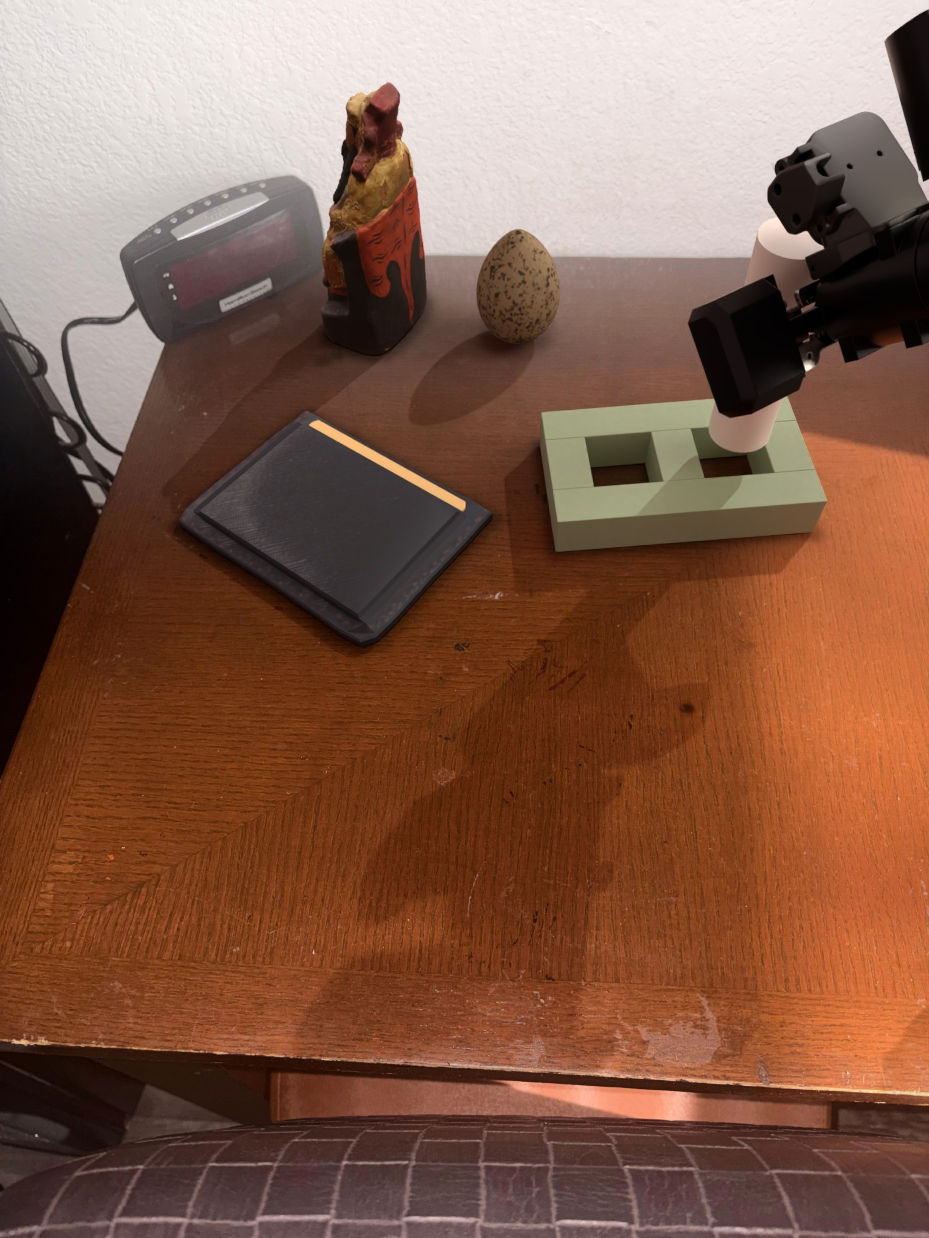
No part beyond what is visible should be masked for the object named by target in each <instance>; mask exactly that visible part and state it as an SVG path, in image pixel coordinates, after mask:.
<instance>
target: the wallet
mask: <svg viewBox="0 0 929 1238" xmlns="http://www.w3.org/2000/svg"><path fill="white" fill-rule="evenodd" d="M492 519H494V513H493V511H491V510H489V509H488V508H485V507H484V506H483V505H481V504H479V503H477V502H476V501H475V500H473V499H471V498H469V497H467V496H465V495H463V494H461V493H459V492H457V491H456V490H453V489H451V488H449V487H447V486H445V485H443V484H442V483H439V482H438V481H436V480H434V479H432V478H431V477H429V476H427V475H425V474H423V473H422V472H421V471H418V470H416V469H414V468H413V467H411V466H409V465H407V464H405V463H404V462H402V461H399V460H398V459H396V458H395V457H392V456H391V455H389V454H387V453H385V452H384V451H382V450H380V449H378V448H376V447H374V446H372V445H371V444H368V443H367V442H365V441H364V440H362V439H359V438H358V437H356V436H354V435H352V434H351V433H348V432H347V431H345V430H344V429H342V428H340V427H338V426H337V425H334V424H333V423H331V422H329V421H327V420H325V419H324V418H321V417H320V416H318V415H316V414H314V413H313V412H311V411H309V410H307V409H305V410H303V411H302V412H301V413H300V414H299V415H297V417H295V418H294V419H293V420H292V421H290V422H289V423H288V424H286V425H285V426H283V427H282V428H280V429H279V430H278V431H277V432H276V433H274V434H273V435H272V436H271V437H269V438H268V439H267V440H266V441H265V442H263V443H261V445H260V446H258V447H257V448H256V449H255V450H254V451H252V452H251V453H250V454H249V455H247V456H246V457H245V458H243V460H242V461H240V462H239V463H238V464H236V465H235V466H234V467H233V468H232V469H230V471H228V472H226V474H224V475H223V476H222V477H221V478H220V479H218V481H216V482H215V483H213V484H212V485H211V486H210V487H208V488H207V489H206V490H205V491H204V492H202V493H201V494H200V495H199V496H198V497H197V498H196V499H194V500H193V501H192V502H191V503H190V504H189V505H188V506H186V508H184V509H183V511H182V513H181V515H180V516H179V519H178V521H177V522H178V524H179V525H180V527H181V528H182V529H183V530H185V531H187V532H188V533H190V535H192V536H193V537H195V538H196V539H198V540H199V541H200V542H202V543H203V544H205V545H207V546H208V547H210V548H211V549H212V550H214V551H216V552H217V553H218V554H221V556H223V557H225V558H226V559H228V560H230V561H231V562H233V563H234V564H236V565H237V566H239V568H242V569H243V570H245V571H247V572H248V573H250V574H251V575H253V576H254V577H256V578H257V579H259V580H260V581H262V582H263V583H265V584H267V585H268V586H269V587H271V588H272V589H274V590H275V591H277V592H278V593H280V594H281V595H283V596H284V597H285V598H287V599H288V600H290V602H293V603H294V604H295V605H297V606H298V607H300V608H301V609H303V610H304V611H305V612H307V613H308V614H310V615H311V616H313V617H314V618H315V619H317V620H318V621H320V622H321V623H323V624H324V625H325V626H327V627H328V628H329V629H331V630H332V631H334V632H335V633H336V634H338V635H339V636H340V637H342V638H344V639H346V640H348V641H350V642H351V643H353V644H356V645H357V646H359V647H361V648H362V647H366V646H368V645H371V644H374V643H377V642H379V641H380V640H381V639H382V638H383V637H384V636H385V635H386V634H388V632H389V631H390V630H391V629H392V628H393V627H394V626H395V625H396V624H397V623H398V622H399V621H400V620H401V618H403V616H404V615H405V614H406V613H407V612H408V611H409V610H410V608H411V607H412V606H414V604H415V603H416V602H417V601H418V600H419V598H421V596H422V595H423V594H424V593H425V592H426V591H427V590H428V588H430V586H431V585H432V584H433V583H434V582H435V581H436V580H437V579H438V578H439V576H440V575H441V574H442V573H443V572H444V571H446V569H448V567H449V566H450V565H451V564H452V563H453V562H454V561H455V560H456V558H458V557H459V556H460V554H462V552H463V551H464V550H465V549H466V548H467V547H468V546H469V545H470V544H471V543H472V541H473V540H474V539H475V538H476V537H477V536H478V534H479V533H480V532H482V530H484V528H485V527H486V526H487V525H488V524H489V523H490V522H491V520H492Z"/></svg>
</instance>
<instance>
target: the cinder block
mask: <svg viewBox="0 0 929 1238" xmlns="http://www.w3.org/2000/svg"><path fill="white" fill-rule="evenodd" d="M714 403H715V400H714V398H705V399H693V400H680V401H679V400H678V401H667V402H655V403H642V404H640V403H639V404H630V405H629V404H628V405H616V406H602V407H592V408H591V407H590V408H579V409H578V408H577V409H565V410H564V409H563V410H553V411H542V412H541V413H540V424H539V425H540V427H539V449H540V454H541V455H540V456H541V462H542V468H543V469H542V470H543V476H544V483H545V489H546V497H547V503H548V508H549V517H550V523H551V530H552V538H553V544H554V552H556V553H559V552H572V551H584V550H598V549H611V548H612V549H613V548H624V547H625V548H626V547H636V546H637V547H638V546H651V545H662V544H663V545H664V544H677V543H688V542H701V541H713V540H714V541H715V540H716V541H717V540H726V539H727V540H728V539H740V538H741V539H742V538H752V537H768V536H779V535H793V534H805V533H806V534H807V533H813V532H814V530H815V529H816V526H817V524H818V522H819V520H820V518H821V516H822V513H823V511H824V509H825V507H826V505H827V503H828V499H827V496H826V493H825V491H824V488H823V486H822V483H821V481H820V478H819V475H818V473H817V472H818V471H817V470H816V468H815V465H814V463H813V460H812V458H811V454H810V452H809V449H808V447H807V444H806V442H805V439H804V436H803V434H802V432H801V429H800V426H799V423H798V421H797V418H796V416H795V413H794V410H793V407H792V405H791V402H790V399H789V397H788V396H786V397H784V398H783V399H782V402H781V405H780V408H779V411H778V414H777V417H776V420H775V423H774V426H773V429H772V432H771V435H770V438H769V440H768V442H767V443H766V445H764V446H763V447H762V448H760V449H758V450H756V451H752V452H746V453H739V452H733V451H729V450H727V449H724V448H722V447H721V446H719V445H718V444H716V443H715V442H714V441H713V439H712V438H711V436H710V434H709V423H710V419H711V415H712V411H713V407H714ZM742 456H743V457H744V456H746V458H747V461H748V464H749V467H750V470H751V473H752V474H745V475H732V476H731V475H729V476H717V477H707V478H706V477H705V476H704V471H703V468H702V464H701V462H700V461H701V460H706V459H717V458H731V457H742ZM639 464H641V465H642V464H644V465H645V466H644V467H645V469H646V470H645V471H646V475H647V478H648V482H642V483H641V482H640V483H629V484H616V485H605V486H604V485H603V486H594V480H593V474H592V469H591V468H601V467H614V466H616V467H617V466H627V465H639Z"/></svg>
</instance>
